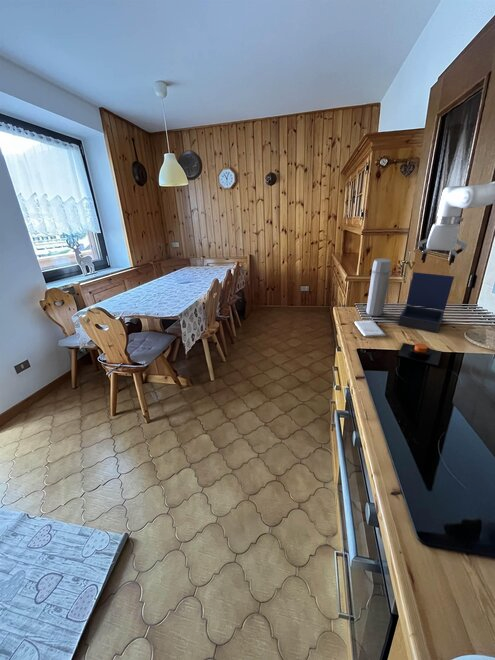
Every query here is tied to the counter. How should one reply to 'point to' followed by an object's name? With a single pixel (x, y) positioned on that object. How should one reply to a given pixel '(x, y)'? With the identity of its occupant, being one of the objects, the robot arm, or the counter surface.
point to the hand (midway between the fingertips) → (436, 263)
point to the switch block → (420, 355)
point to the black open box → (421, 318)
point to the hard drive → (369, 328)
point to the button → (421, 348)
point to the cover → (429, 290)
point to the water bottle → (378, 287)
